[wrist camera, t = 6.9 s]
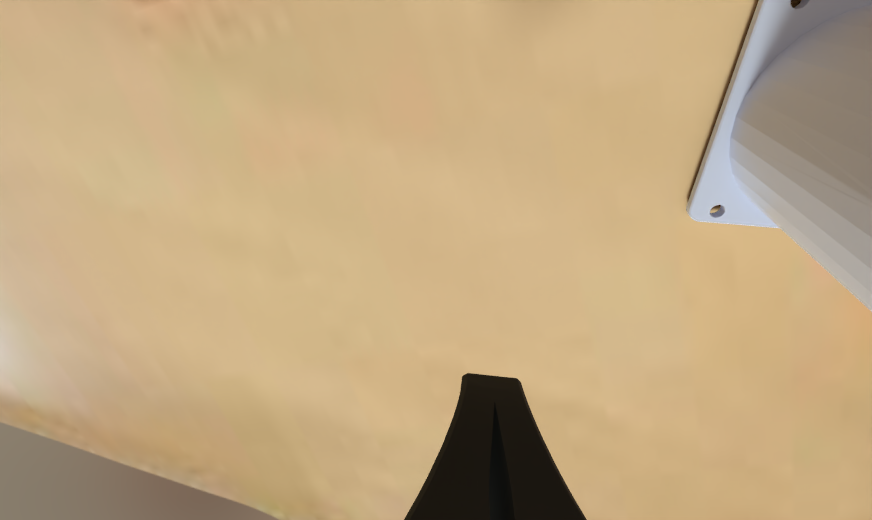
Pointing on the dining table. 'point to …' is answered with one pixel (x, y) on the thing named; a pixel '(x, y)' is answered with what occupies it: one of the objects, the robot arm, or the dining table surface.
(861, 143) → the robot arm
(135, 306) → the dining table surface
